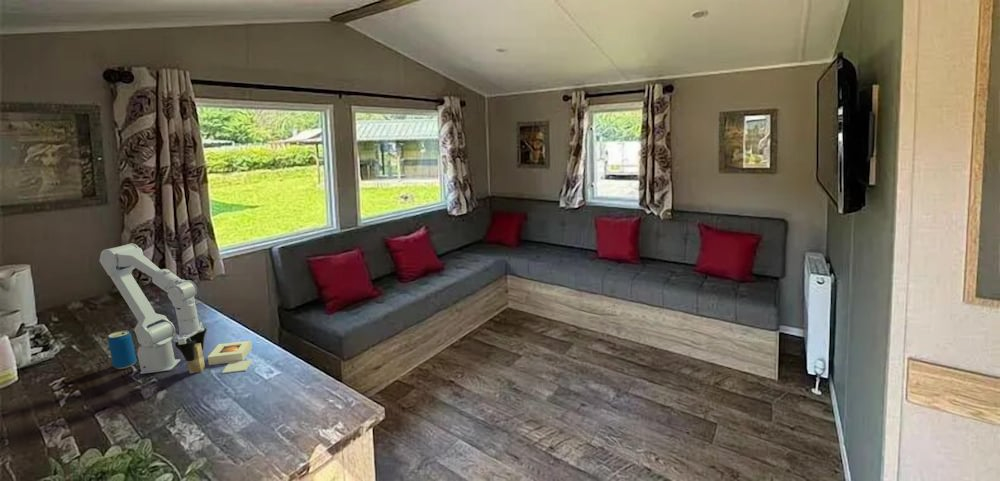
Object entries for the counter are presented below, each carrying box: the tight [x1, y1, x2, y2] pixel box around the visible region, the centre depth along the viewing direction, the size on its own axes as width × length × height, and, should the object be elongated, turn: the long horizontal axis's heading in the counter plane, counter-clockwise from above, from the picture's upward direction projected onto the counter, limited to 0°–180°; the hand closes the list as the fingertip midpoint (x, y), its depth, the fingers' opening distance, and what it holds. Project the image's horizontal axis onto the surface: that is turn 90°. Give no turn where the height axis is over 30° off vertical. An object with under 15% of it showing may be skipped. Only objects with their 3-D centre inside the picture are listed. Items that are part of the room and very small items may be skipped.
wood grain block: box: [187, 343, 206, 374], centre depth 164 cm, size 4×4×9 cm
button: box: [222, 347, 238, 353], centre depth 174 cm, size 5×5×1 cm
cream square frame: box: [207, 340, 253, 366], centre depth 174 cm, size 11×11×3 cm
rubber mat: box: [221, 359, 253, 375], centre depth 166 cm, size 8×8×1 cm
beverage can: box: [107, 330, 138, 370], centre depth 169 cm, size 6×6×12 cm
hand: (195, 355), depth 164 cm, fingers open, 7 cm apart
